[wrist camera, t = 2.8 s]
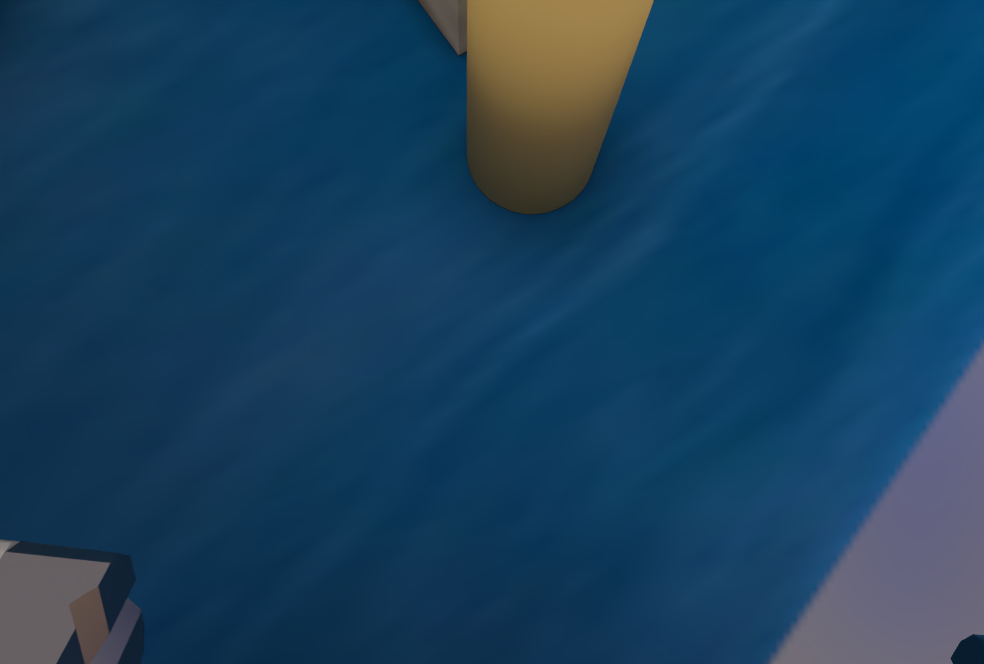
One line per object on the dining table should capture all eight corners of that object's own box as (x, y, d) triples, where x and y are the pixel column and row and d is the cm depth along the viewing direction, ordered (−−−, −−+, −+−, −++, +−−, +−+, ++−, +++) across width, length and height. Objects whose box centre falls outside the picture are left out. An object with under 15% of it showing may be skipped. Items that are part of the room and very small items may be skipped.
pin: (441, 137, 28) (424, -140, 16) (545, 71, 29) (601, -240, 17) (514, 238, 28) (551, 26, 16) (619, 169, 28) (730, -84, 16)
